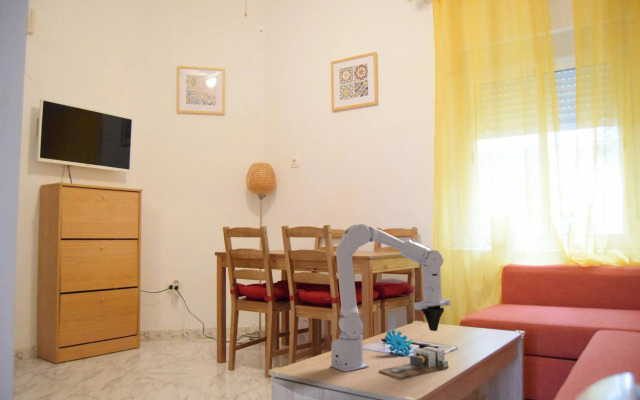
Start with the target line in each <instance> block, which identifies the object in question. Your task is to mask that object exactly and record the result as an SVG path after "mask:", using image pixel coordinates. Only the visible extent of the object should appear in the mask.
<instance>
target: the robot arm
mask: <svg viewBox="0 0 640 400" xmlns="http://www.w3.org/2000/svg"><path fill="white" fill-rule="evenodd" d="M370 242H371V243H375V242H378V243H380V244H383V245H386V246H388V247H390V248H392V249H395V250H398V251H399V252H400V255H401V257H404V258H406V259H408V260H411V261H414V262H415V263H418V264H420V265H421V266H422V297H423V298H422V299H423V300H422V301H418V302H414V303H413V306H414V307H413V308H414V310H417V311H421V312H422V313H423V314H424V315H423V316H424V318H425V319H426V322H427V324H428V325H427V326H428V329H429V331H432V332H437V331H438V328H439V323H440V320H441V317H442V315H443V313H444V312H445V309H444V307H449V306H451V299H448V298H443V299H442V275H441V273H442V272H441V267H442V266H443V264H444V258H443V256H442V254H441V253H440V252H439V251H438V250H433V249H430V246H428V245H426V246H424V245H422V244H420V243H418V242H417V240H415V239H414V238H413V239H412V238H411V239H406V240H404V241H403V240H402V239H399V238H397V237H395V236H393V235H391V234H389V233H387V232H385V231H383V230H380V229H379V228H376V227H373V226H368V225H366V224H363V223H359V224H352V225H351V226H348V228H347V229H346V230H345V231H344V232H343V234H342V237H341V238H340V241H339V243H338V245H337V247H336V249H335V255H336V265H337V275H338V286H339V287H338V288H339V296H340V297H339V298H340V316H339V319H338V328H339V329H340V331H341V332H340V333H339V338H337V339H335V340H333V341H332V343H331V347H330V348H331V364H329V365H330V367H332V368H334V369H338V370H340V371H342V372H351V371H353V370H354V371H355V370H359V369H364V368H369V367H370V364H369V363H368V364H367V363H365V362H364V354H363V353H364V348H363V347H364V345H363V340H364V339H363V333H364V327H365V326H364V323H363V321H362V320H361V317H360V312H359V309H358V306H357V304H358V303H357V295H356V284H355V275H354V274H355V273H354V263H353V255H354V254H355V253H356V252H357V250H359V248H361V247H362V246H364V245H366V244H368V243H370Z"/></svg>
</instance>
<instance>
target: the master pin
mask: <svg viewBox="0 0 640 400" xmlns="http://www.w3.org/2000/svg"><path fill="white" fill-rule="evenodd" d="M409 363H410V364H414V365H417V366H420V367H421V366H423V364H425V363H426V357H425V355H421V356H414V355H410V356H409Z"/></svg>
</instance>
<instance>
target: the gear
mask: <svg viewBox="0 0 640 400" xmlns="http://www.w3.org/2000/svg"><path fill="white" fill-rule="evenodd" d="M396 333H397V334H396ZM402 334H403V333H402V332H401V331H400V330H398V332H397V331H396V329H392V330H391V331H390V330H389V331H387V332H386V335H385V337H384V339H386V341H385V345H388V346H389V345H390V346H389V348H388V349H389V350H391V351H393V352H394V354H396V355H399V354H400V356H402V357H405V356H406V355H407V354H408V355H410V353H411V350H412V349H413V347H412V346H411V345H412V343H414V341H413V339H410V340H407V339H408V336H407V334H404V335H403V336H401V335H402ZM406 347H407V348H406ZM409 350H410V351H409ZM391 351H390V352H391ZM400 351H401V353H400Z"/></svg>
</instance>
